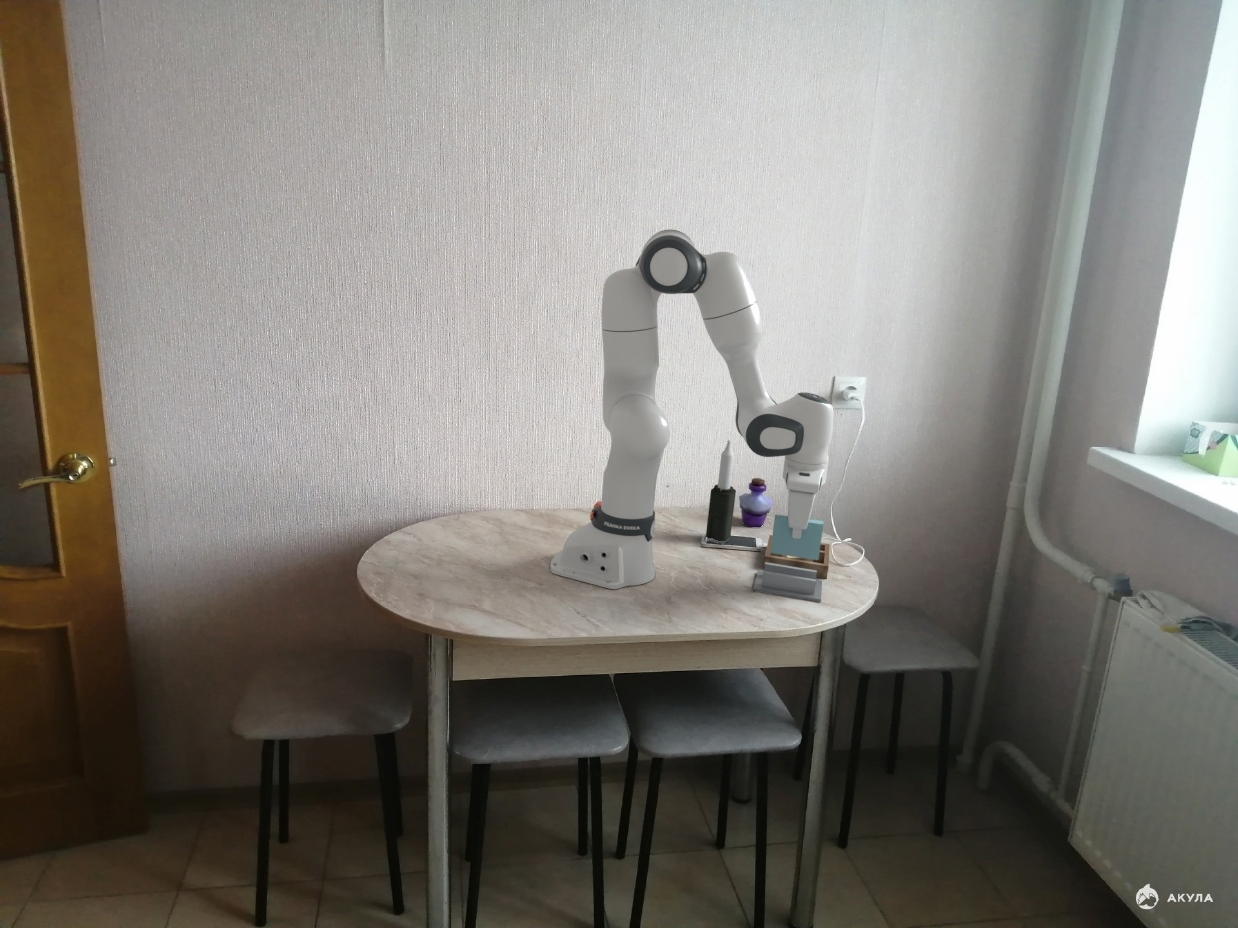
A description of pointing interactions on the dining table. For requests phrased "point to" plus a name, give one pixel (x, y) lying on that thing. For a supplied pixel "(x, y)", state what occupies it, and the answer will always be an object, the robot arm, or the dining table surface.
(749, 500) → the potion bottle
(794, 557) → the upper offcut
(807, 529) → the teal flat block
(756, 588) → the slate stand
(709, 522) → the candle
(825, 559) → the rack
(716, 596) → the dining table surface
